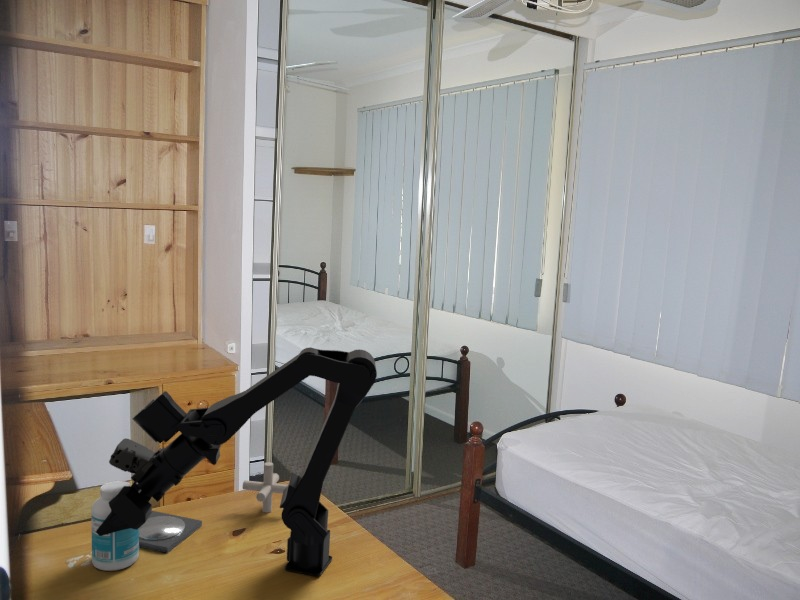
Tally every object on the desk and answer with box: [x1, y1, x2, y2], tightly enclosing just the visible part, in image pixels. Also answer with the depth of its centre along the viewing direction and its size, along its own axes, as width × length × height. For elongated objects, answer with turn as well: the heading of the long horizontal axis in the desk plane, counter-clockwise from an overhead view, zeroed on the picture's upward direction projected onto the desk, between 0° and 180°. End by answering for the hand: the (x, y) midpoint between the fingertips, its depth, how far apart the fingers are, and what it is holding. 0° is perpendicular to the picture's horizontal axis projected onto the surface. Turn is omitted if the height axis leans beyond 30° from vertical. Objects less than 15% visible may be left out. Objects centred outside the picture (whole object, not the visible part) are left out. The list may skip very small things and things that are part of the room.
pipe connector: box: [242, 461, 288, 514], centre depth 135 cm, size 10×10×10 cm
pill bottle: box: [90, 480, 140, 572], centre depth 113 cm, size 8×7×14 cm
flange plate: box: [139, 510, 203, 554], centre depth 124 cm, size 11×11×1 cm
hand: (108, 520), depth 113 cm, fingers open, 9 cm apart
